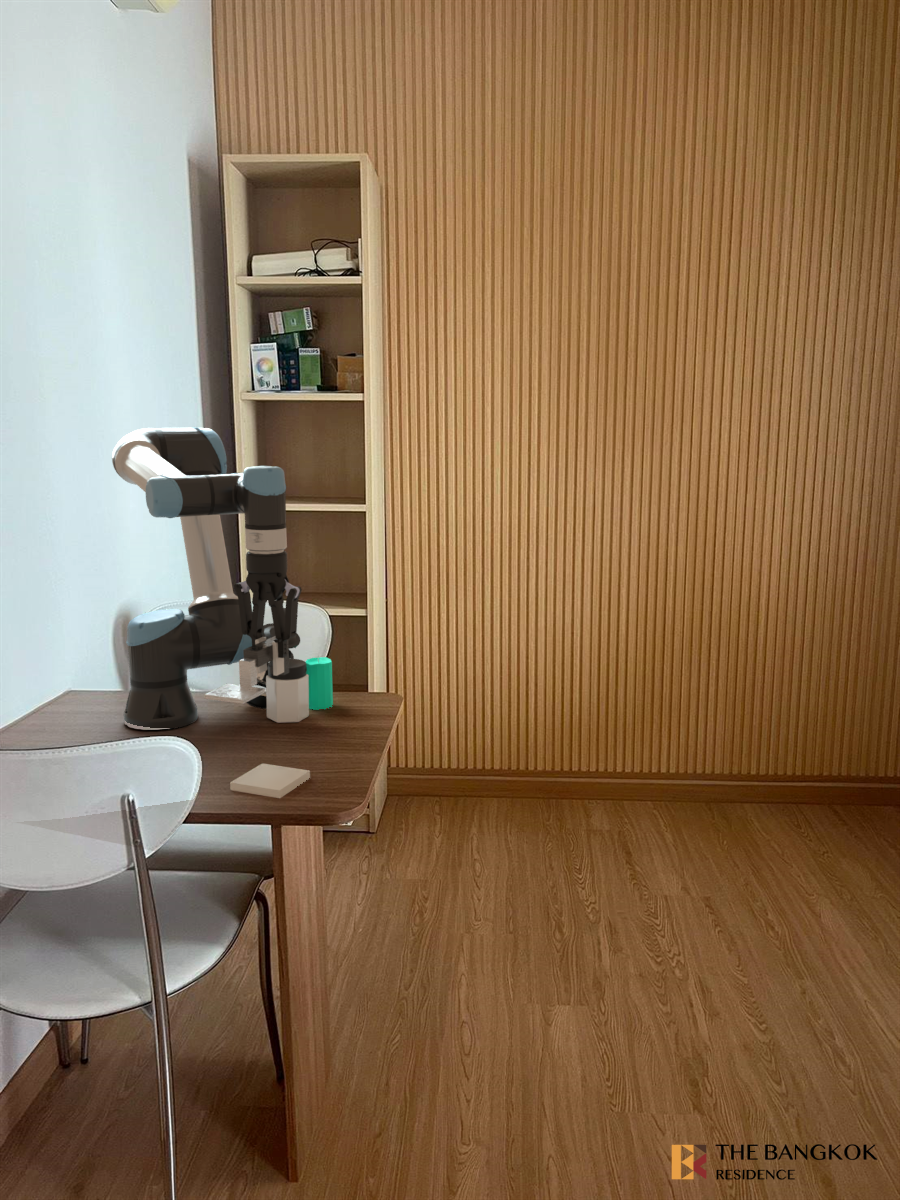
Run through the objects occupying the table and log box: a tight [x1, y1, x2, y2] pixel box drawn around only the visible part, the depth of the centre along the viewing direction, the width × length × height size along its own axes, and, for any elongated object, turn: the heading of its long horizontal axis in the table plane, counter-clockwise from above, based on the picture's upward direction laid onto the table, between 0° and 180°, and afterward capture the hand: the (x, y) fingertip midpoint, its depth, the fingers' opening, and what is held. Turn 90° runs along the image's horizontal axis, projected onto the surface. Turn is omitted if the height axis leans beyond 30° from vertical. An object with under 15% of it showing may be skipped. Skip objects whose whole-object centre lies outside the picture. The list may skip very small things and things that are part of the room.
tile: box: [229, 763, 311, 799], centre depth 170 cm, size 2×10×10 cm
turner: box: [203, 636, 290, 705], centre depth 178 cm, size 20×8×7 cm, turn 159°
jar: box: [265, 658, 310, 724], centre depth 206 cm, size 9×8×12 cm
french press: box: [245, 607, 301, 710], centre depth 212 cm, size 12×9×23 cm
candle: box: [305, 656, 334, 711], centre depth 215 cm, size 6×6×12 cm
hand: (270, 672), depth 183 cm, fingers closed on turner, 3 cm apart
